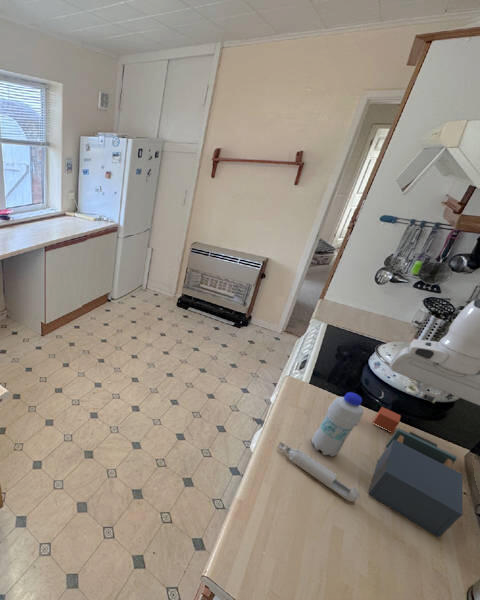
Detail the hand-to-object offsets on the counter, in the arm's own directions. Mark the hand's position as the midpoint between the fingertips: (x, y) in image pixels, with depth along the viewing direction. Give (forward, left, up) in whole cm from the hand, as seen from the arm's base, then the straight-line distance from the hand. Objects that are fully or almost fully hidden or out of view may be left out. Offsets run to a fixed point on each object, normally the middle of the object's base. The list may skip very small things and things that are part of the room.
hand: (426, 399), depth 88 cm
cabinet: (+17, +14, -16) cm, 27 cm away
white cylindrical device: (+36, +5, -16) cm, 40 cm away
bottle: (+26, -1, -16) cm, 31 cm away
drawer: (+8, +9, -15) cm, 19 cm away
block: (-2, -5, -16) cm, 17 cm away
